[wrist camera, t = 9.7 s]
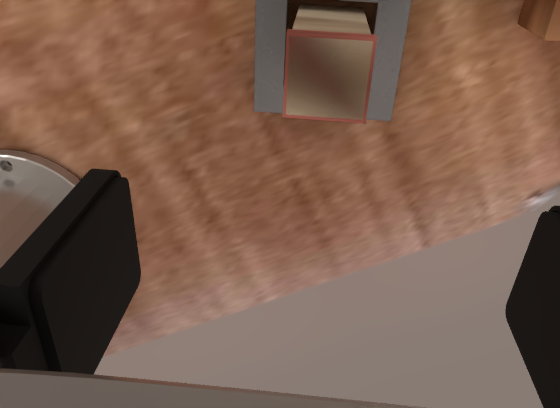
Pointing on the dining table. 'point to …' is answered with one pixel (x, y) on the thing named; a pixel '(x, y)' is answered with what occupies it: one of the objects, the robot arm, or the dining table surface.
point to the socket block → (272, 52)
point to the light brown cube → (541, 18)
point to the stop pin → (328, 64)
